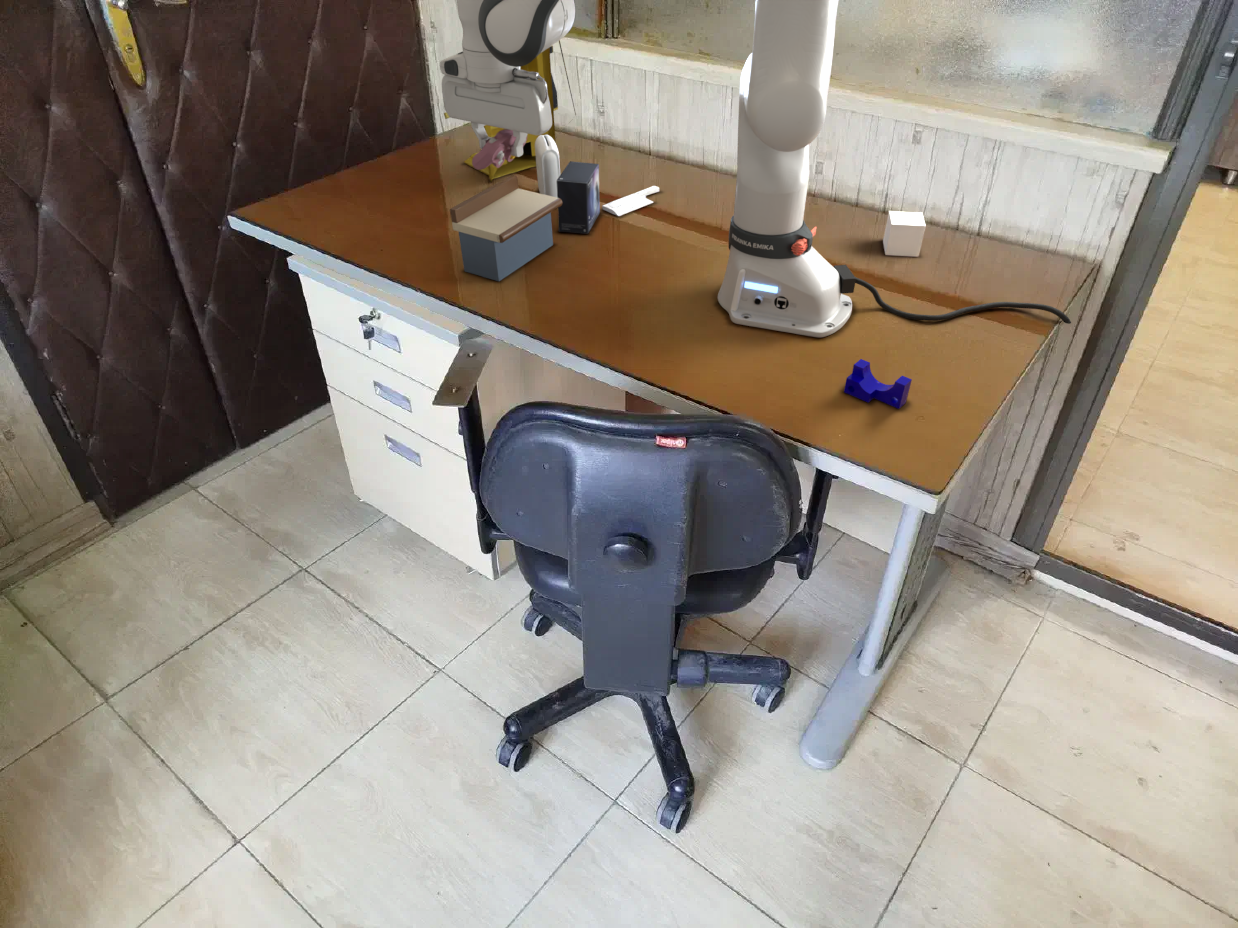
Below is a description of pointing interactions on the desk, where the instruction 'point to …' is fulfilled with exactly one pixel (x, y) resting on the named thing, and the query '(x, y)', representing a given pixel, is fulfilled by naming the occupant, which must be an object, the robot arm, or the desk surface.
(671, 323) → the desk surface
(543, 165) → the photo printer
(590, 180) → the small box
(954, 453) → the desk surface
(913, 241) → the white cube
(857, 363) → the cable holder
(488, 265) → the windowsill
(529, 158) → the yellow upright casing
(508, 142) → the video game controller
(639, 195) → the white plastic blade
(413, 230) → the desk surface
